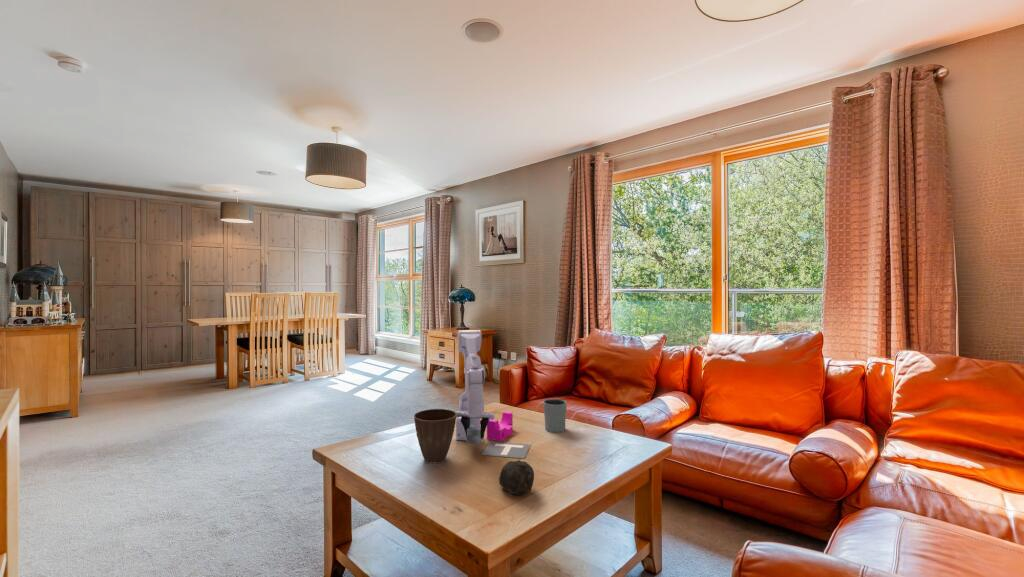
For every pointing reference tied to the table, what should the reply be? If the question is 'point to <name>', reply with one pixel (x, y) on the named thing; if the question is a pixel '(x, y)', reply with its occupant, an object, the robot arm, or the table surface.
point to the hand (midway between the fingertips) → (475, 437)
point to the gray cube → (474, 434)
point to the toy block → (500, 427)
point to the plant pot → (435, 433)
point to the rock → (517, 477)
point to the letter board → (506, 450)
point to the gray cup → (555, 415)
